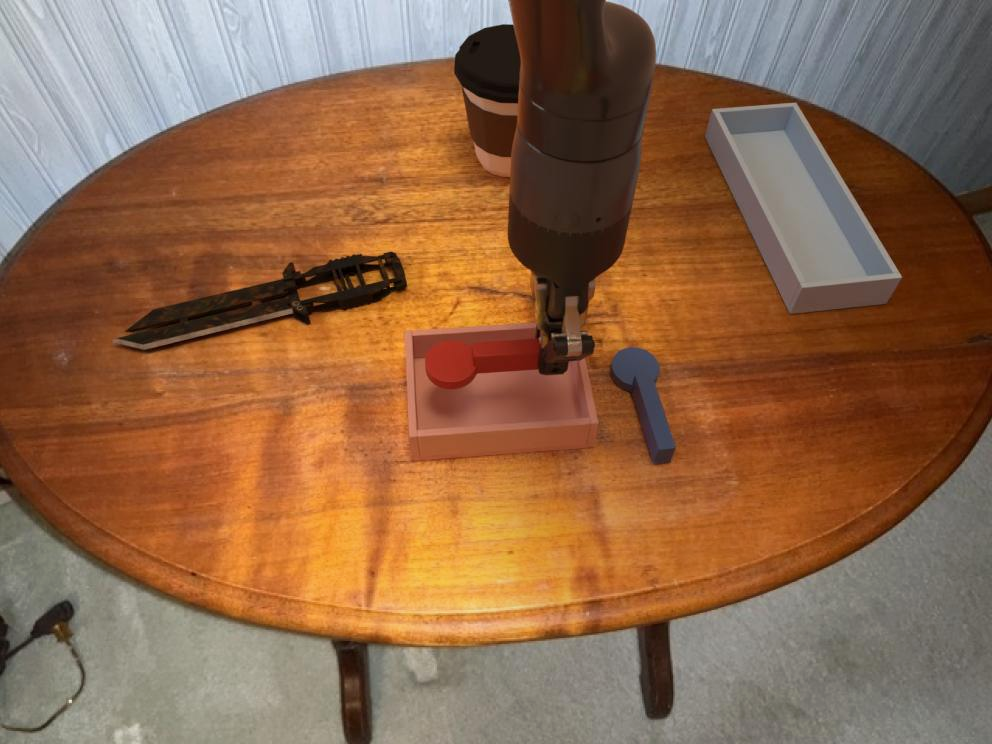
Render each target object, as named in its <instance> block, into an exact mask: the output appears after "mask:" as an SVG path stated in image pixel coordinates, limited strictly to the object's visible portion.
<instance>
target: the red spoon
mask: <svg viewBox="0 0 992 744" xmlns="http://www.w3.org/2000/svg"><path fill="white" fill-rule="evenodd" d="M539 347H540V344H539V338H538V339H537V338H534V339H519V340H504V341H489V342H473V343H472V348H471V347H470V346H469V345H467V344H465V343H463V342H460V341H454V340H450V341H444V342H440V343H438V344H436V345H435V346H433V347H432V348H431V349H430V350H429V352H428V353H427V355H426V358H425V370H426V374H427V377H428V378H429V380H430V381H431V382H432V383H433V384H435V385H436V386H438V387H440V388H444V389H459V388H462V387H465V386H467V385H468V384H469V383H471V382H472V381H473V380H474V378H475V377H476V375H477V374H481V373H495V372H510V371H524V370H538V358H539Z"/></svg>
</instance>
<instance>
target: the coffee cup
mask: <svg viewBox="0 0 992 744" xmlns="http://www.w3.org/2000/svg"><path fill="white" fill-rule="evenodd" d="M458 48H459V49H458V50H457V52H456V53H455V54H454V65H453V68H454V69H453V73H454V76H455V77H456V79H457V80H458V82H459V84H460V85H461V89H462V90H461V92H462V96H463V102H464V108H465V113H466V118H467V123H468V129H469V135H470V137H471V139H472V142H473V146H474V151H475V156H476V158H477V160H478V162H479V163H480V164H481V167H482V168H484V170H486V171H487V172H489V173H490V174H492V175H494V176H498V177H501V178H510V169H511V152H512V145H513V140H514V136H515V131H516V126H517V115H518V95H519V79H520V78H519V77H520V64H521V60H520V53H519V48H518V43H517V39H516V35H515V30H514V26H513V23H512V24H511V23H509V24H507V23H506V24H505V23H502V24H497V25H491V26H487V27H482V28H481V29H480V30H478V31H476V32H474V33H472V34H469V35H468V36H467V37H466V39H465V40H464V41H463V42H462V43H461V44H460V45H459V47H458Z"/></svg>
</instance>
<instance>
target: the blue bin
mask: <svg viewBox="0 0 992 744" xmlns="http://www.w3.org/2000/svg"><path fill="white" fill-rule="evenodd" d="M704 138H705V141H706V142H707V145H708V146H709V149H710V151H711V154H712V155H713V157H714V159H715V161H716V164H717V165H718V167H719V169H720V171H721V174H722V175H723V178H724V180H725V182H726V184H727V186H728V188H729V190H730V193H731V194H732V196H733V198H734V201H735V203H736V205H737V207H738V209H739V211H740V214H741V215H742V217H743V219H744V222H745V224H746V226H747V228H748V230H749V232H750V234H751V236H752V238H753V240H754V242H755V245H756V247H757V249H758V250H759V254H760V255H761V257H762V259H763V261H764V263H765V265H766V268H767V270H768V271H769V274H770V275H771V278H772V280H773V282H774V284H775V286H776V288H777V290H778V293H779V294H780V297H781V299H782V302H783V303H784V305H785V307H786V309H787V311H788V313H789V314H790V315H795V314H803V313H814V312H822V311H832V310H841V309H850V308H859V307H869V306H877V305H878V306H879V305H887V303H888V302H889V300H890V298H891V297H892V295H893V294H894V292H895V290H896V288H897V287H898V285H899V284H900V282H901V280H902V278H903V276H902V274H901V273H900V271H899V269H898V268H897V266H896V264H895V263H894V261H893V259H892V258H891V256H890V254H889V253H888V251H887V250H886V248H885V246H884V245H883V243H882V242H881V240H880V239H879V237H878V235H877V233H876V232H875V230H874V228H873V227H872V224H871V223H870V222H869V220H868V218H867V217H866V215H865V213H864V212H863V210H862V209H861V206H860V205H859V204H858V202H857V200H856V198H855V197H854V195H853V193H852V192H851V190H850V189H849V187H848V185H847V184H846V182H845V180H844V179H843V177H842V176H841V174H840V172H839V171H838V169H837V168H836V166H835V164H834V163H833V161H832V159H831V158H830V156H829V154H828V153H827V151H826V149H825V147H824V146H823V144H822V143H821V141H820V140H819V138H818V136H817V134H816V132H815V131H814V130H813V127H812V126H811V125H810V123H809V121H808V120H807V118H806V116H805V115H804V113H803V111H802V110H801V108H800V106H799V104H798V103H797V102H787V103H786V102H785V103H774V104H773V103H771V104H762V105H761V104H760V105H747V106H734V107H733V106H732V107H723V108H712V109H711V112H710V116H709V119H708V124H707V127H706V130H705V134H704Z"/></svg>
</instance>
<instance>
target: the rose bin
mask: <svg viewBox="0 0 992 744" xmlns="http://www.w3.org/2000/svg"><path fill="white" fill-rule="evenodd" d="M535 333H536V321H535V322H521V323H520V322H519V323H506V324H493V325H492V324H490V325H474V326H473V325H471V326H458V327H442V328H441V327H440V328H428V329H425V328H424V329H412V330H410V329H409V330H404V350H405V351H404V352H405V354H404V355H405V372H406V373H405V374H406V375H405V376H406V377H405V378H406V397H407V418H408V419H407V420H408V421H407V422H408V440H409V449H410V454H411V455H410V456H411V462H417V461H432V460H443V459H457V458H459V459H460V458H470V457H484V456H494V455H495V456H497V455H511V454H522V453H523V454H524V453H537V452H538V453H539V452H549V451H563V450H575V449H576V450H577V449H589V448H594V446H595V441H596V437H597V434H598V433H597V432H598V428H599V422H600V421H599V418H598V413H597V408H596V404H595V399H594V393H593V388H592V384H591V379H590V374H589V369H588V365H587V360H586V358H584V359H582V360H580V361H569V364H568V370H567V371H566V372H565V373H564V374H561V375H546V376H545V375H542V374H540V373H539V370H524V371H510V372H495V373H481V374H477V375H476V377H475V378H474V380H473V381H472V382H471V383H469V384H468V385H467V386H465V387H462V388H459V389H444V388H440V387H438V386H436V385H435V384H433V383H432V382H431V381H430V380H429V378H428V377H427V374H426V370H425V358H426V355H427V353H428V352H429V350H430V349H431V348H432V347H433V346H435V345H436V344H438V343H440V342H444V341H450V340H454V341H460V342H463V343H465V344H467V345H469V346H470V347H471V348H472V343H473V342H489V341H504V340H519V339H534V338H535Z"/></svg>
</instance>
